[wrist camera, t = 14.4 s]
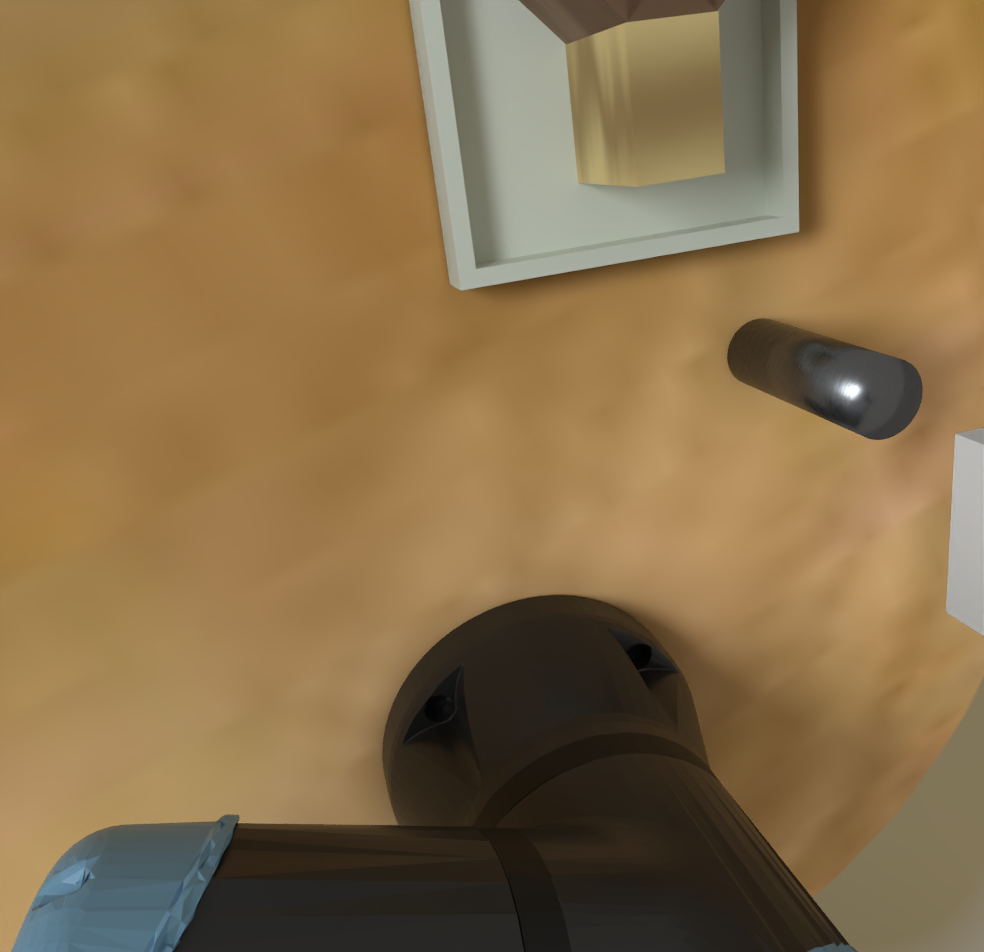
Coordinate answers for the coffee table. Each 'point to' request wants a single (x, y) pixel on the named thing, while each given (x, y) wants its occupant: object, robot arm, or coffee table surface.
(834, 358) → the cylinder
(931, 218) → the coffee table surface
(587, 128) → the brown octagonal handled piece
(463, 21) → the tray
